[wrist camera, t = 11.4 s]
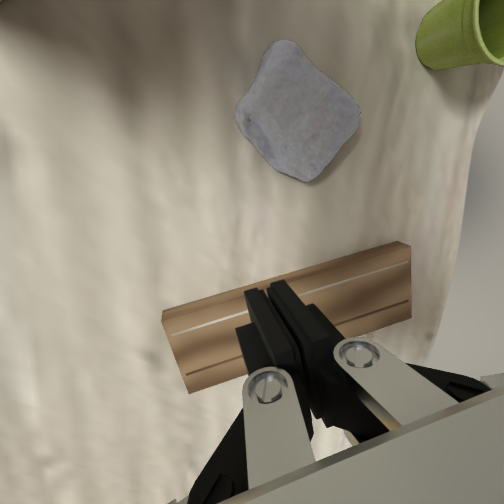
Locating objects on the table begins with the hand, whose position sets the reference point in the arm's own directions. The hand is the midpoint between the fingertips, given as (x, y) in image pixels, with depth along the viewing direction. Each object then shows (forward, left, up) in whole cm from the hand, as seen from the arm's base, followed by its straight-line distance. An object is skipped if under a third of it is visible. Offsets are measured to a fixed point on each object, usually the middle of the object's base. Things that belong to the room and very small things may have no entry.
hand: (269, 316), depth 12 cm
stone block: (-8, +10, -23) cm, 26 cm away
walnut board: (+15, +7, -23) cm, 28 cm away
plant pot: (-13, +29, -23) cm, 39 cm away
